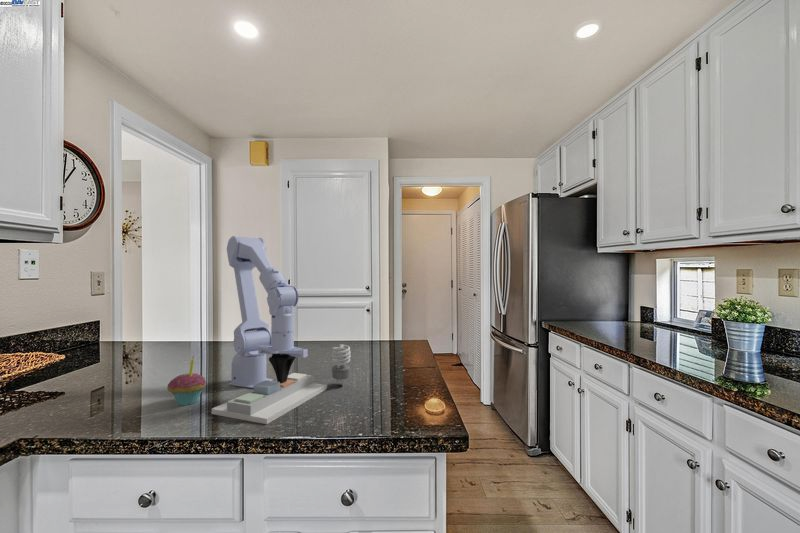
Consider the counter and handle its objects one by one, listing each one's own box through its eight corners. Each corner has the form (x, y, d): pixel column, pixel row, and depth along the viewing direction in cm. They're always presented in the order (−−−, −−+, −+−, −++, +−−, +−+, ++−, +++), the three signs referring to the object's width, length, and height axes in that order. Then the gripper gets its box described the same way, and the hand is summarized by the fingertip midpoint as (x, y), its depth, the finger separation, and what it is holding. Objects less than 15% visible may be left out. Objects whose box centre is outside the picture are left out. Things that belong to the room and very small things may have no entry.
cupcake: (213, 398, 96) (213, 353, 96) (185, 410, 88) (185, 360, 88) (188, 394, 99) (189, 350, 99) (159, 405, 91) (159, 357, 91)
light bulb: (346, 388, 104) (346, 346, 104) (328, 387, 105) (328, 345, 105) (353, 382, 110) (353, 342, 110) (335, 381, 111) (335, 341, 111)
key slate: (253, 394, 91) (253, 385, 91) (265, 388, 95) (265, 380, 95) (268, 396, 89) (268, 387, 89) (279, 390, 94) (279, 382, 94)
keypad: (211, 413, 86) (211, 399, 86) (280, 382, 110) (280, 371, 110) (266, 424, 81) (266, 408, 81) (327, 389, 104) (327, 377, 104)
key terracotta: (269, 391, 97) (269, 383, 97) (280, 386, 101) (280, 378, 101) (283, 393, 95) (283, 385, 95) (294, 388, 99) (294, 380, 99)
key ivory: (284, 384, 102) (284, 377, 102) (294, 380, 106) (294, 372, 106) (297, 386, 101) (297, 378, 101) (307, 382, 105) (307, 374, 105)
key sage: (235, 408, 85) (235, 398, 85) (248, 401, 89) (248, 392, 89) (250, 410, 84) (250, 401, 84) (263, 404, 88) (263, 394, 88)
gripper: (250, 332, 97) (249, 383, 97) (296, 335, 92) (295, 390, 92) (268, 328, 103) (268, 376, 103) (312, 331, 98) (312, 381, 98)
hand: (282, 382), depth 98 cm, fingers closed, pressing on key terracotta
